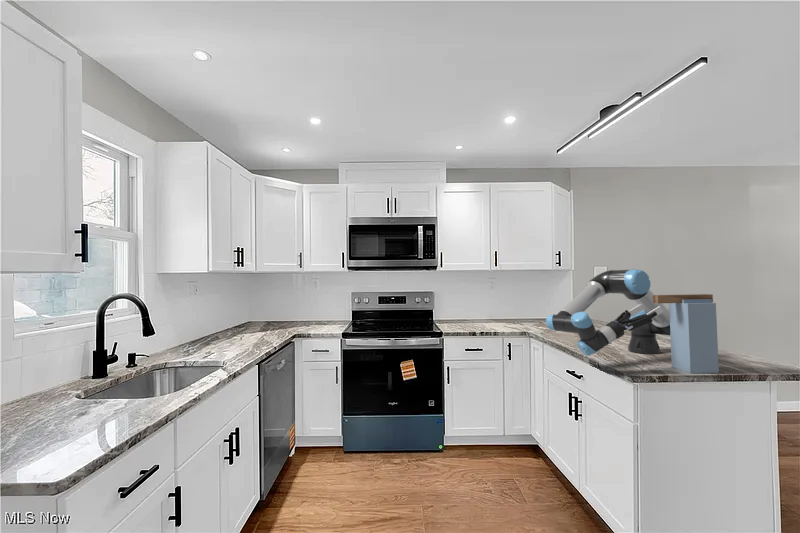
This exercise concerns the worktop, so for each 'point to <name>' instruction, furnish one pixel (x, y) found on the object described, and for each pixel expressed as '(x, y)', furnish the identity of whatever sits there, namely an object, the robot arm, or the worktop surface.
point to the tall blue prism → (694, 336)
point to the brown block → (679, 298)
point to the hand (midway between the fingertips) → (651, 307)
